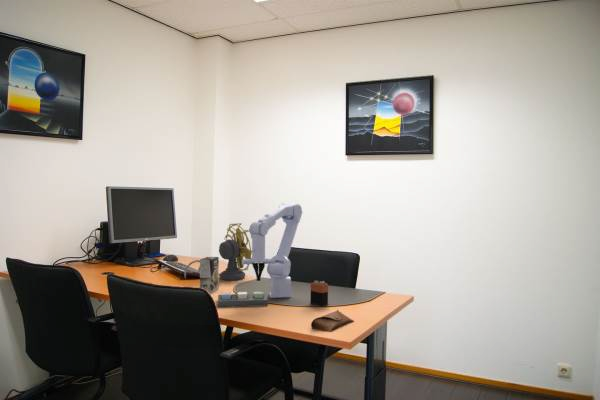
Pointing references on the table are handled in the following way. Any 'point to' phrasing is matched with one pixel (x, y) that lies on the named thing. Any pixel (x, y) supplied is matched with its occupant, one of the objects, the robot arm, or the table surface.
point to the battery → (319, 293)
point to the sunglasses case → (330, 321)
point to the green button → (258, 294)
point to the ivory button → (242, 295)
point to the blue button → (226, 295)
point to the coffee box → (209, 274)
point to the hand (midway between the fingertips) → (258, 280)
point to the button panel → (242, 301)
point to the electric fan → (233, 254)
